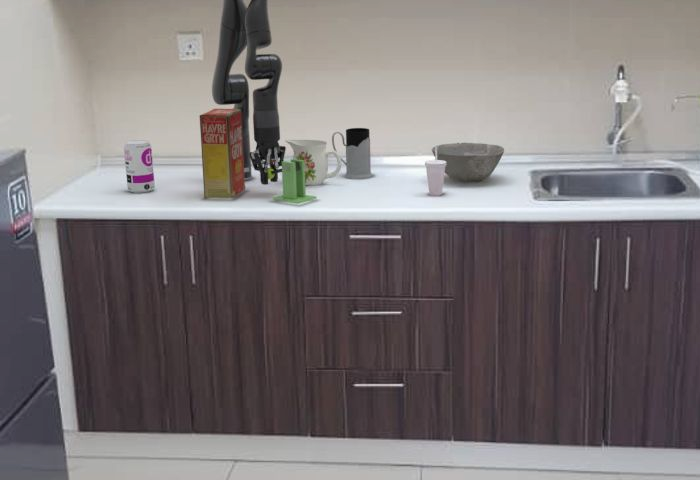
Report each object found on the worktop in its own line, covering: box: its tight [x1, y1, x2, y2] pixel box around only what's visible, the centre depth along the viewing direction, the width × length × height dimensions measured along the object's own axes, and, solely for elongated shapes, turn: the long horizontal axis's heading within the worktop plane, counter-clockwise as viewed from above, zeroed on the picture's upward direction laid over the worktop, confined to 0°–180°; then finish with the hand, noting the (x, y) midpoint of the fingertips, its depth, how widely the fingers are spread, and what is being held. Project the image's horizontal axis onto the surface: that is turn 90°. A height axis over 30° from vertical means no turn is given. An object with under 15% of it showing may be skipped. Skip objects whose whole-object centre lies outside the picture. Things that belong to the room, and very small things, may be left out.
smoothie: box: [424, 146, 446, 197], centre depth 289 cm, size 6×6×14 cm
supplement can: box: [123, 139, 156, 194], centre depth 301 cm, size 8×8×15 cm
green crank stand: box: [272, 158, 317, 205], centre depth 284 cm, size 10×8×12 cm
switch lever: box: [267, 162, 300, 180], centre depth 286 cm, size 13×3×3 cm, turn 53°
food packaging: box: [199, 108, 246, 199], centre depth 291 cm, size 13×9×25 cm
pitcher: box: [284, 139, 342, 186], centre depth 304 cm, size 11×18×14 cm, turn 74°
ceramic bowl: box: [431, 142, 505, 183], centre depth 308 cm, size 22×23×10 cm
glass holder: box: [331, 127, 373, 180], centre depth 317 cm, size 9×14×15 cm, turn 58°
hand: (269, 182), depth 290 cm, fingers closed on switch lever, 3 cm apart
